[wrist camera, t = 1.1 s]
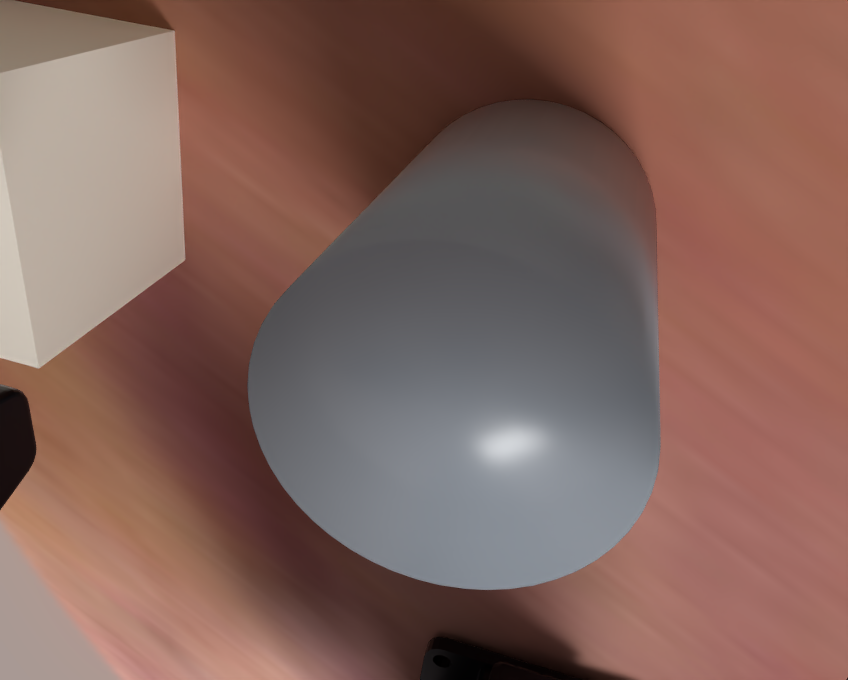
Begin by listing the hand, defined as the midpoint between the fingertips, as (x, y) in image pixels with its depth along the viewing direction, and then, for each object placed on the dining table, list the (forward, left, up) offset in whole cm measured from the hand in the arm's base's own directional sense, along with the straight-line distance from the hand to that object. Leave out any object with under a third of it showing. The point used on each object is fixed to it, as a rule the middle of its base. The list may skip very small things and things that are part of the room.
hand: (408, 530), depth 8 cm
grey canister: (0, 0, -9) cm, 9 cm away
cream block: (0, +10, -9) cm, 13 cm away
